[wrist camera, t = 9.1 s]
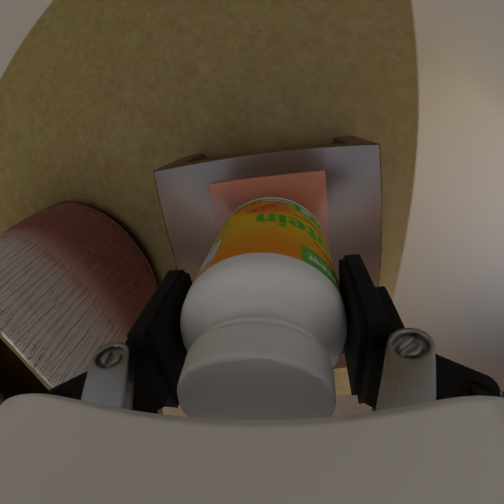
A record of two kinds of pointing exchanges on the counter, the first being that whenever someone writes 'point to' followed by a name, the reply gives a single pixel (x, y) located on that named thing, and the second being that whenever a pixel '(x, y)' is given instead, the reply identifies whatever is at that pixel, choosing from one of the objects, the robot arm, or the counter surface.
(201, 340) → the supplement bottle
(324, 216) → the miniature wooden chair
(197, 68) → the counter surface
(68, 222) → the planter
